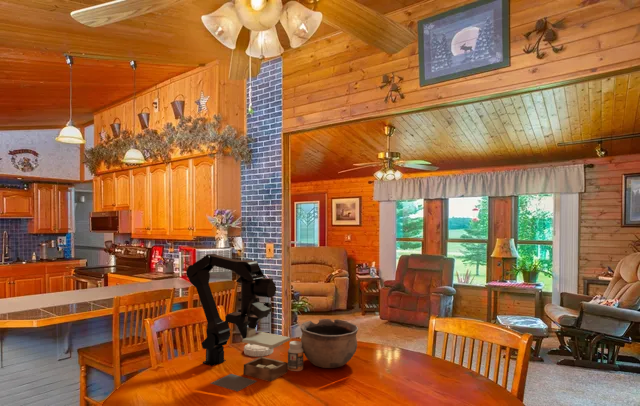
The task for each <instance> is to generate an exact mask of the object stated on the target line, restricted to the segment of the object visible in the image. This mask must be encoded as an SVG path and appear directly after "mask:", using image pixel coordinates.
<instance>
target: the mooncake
mask: <svg viewBox="0 0 640 406" xmlns="http://www.w3.org/2000/svg"><path fill="white" fill-rule="evenodd" d="M243 352H244V355H245V356H248V357H252V358H253V357H257V358H259V357H266V356H267V357H268V356H270V355H272V354H273V353H274V348H273V349H269V348H268V347H263V346H259V345H254V344H253V345H250V344H249V343H246V344H245V345H244V346H243Z"/></svg>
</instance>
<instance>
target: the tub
mask: <svg viewBox="0 0 640 406" xmlns="http://www.w3.org/2000/svg"><path fill="white" fill-rule="evenodd" d="M258 364H259V365H265V366H268V365H275V366H277V367H275V368H273V369H271V370H269V369H265V368H261V367H257V365H258ZM288 370H289V369H288V361H282V360H277V359H273V358H269V357H266V356H260V357H257V358H255V359H252V360H251V361H249V362H246V363H244V364H243V375H244V376H248V377H252V378H256V379H260V380H263V381H265V382H266V381H267V382H269V383H270V382H272V381H275V380H277V379H278V378H280V377H282V376H284V375H286V374H287V373H288V372H289V371H288Z"/></svg>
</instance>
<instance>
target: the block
mask: <svg viewBox="0 0 640 406" xmlns="http://www.w3.org/2000/svg"><path fill="white" fill-rule="evenodd" d="M275 367H277V366H275V365H268V366H265V369H269V370H271V369H273V368H275Z"/></svg>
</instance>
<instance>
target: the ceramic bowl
mask: <svg viewBox="0 0 640 406" xmlns="http://www.w3.org/2000/svg"><path fill="white" fill-rule="evenodd" d="M299 327H300V331H301V333H302V334H301V338H300V342H302V347H301V348H302V349H303V355H304V356H305V358H306V359H307V360H308V361H309V362H310V363H311V364H312V365H314V366H315V367H319V368H322V369H333V368H334V369H336V368H340V367H342V366H344V365H346V364H347V363H348V362H349V361H350V360H352V358H353V356H354V355H355V354H356V352H357V348H358V339H357V333H358V331H359V327H358V325H357V324H355V323H353V322H349V321H347V320H342V319H338V318H337V319H334V320H331V318H322V319H321V318H320V319H319V320H318V322H317V323H315V322H313V321H312V320H308V321H305V322H302V323H301V325H300V326H299Z"/></svg>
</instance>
